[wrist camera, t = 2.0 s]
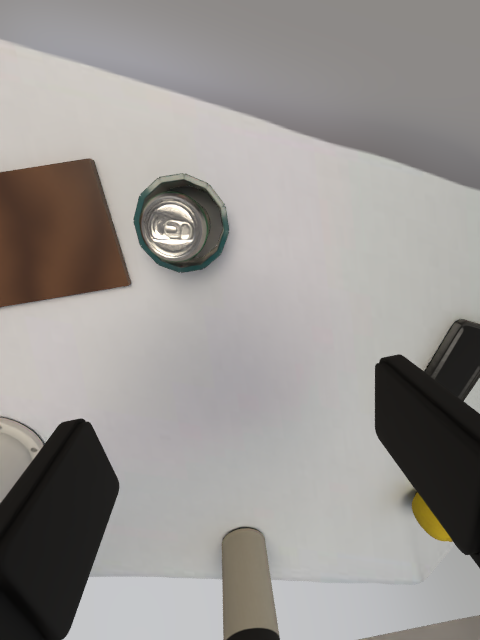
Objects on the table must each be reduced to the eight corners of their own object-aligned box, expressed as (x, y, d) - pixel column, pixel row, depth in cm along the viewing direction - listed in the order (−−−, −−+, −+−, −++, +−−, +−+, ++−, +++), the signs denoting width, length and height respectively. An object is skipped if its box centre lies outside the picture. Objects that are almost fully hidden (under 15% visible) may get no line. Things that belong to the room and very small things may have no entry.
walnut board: (-39, 312, 32) (-46, 314, 31) (-106, 191, 28) (-117, 190, 27) (131, 283, 33) (129, 285, 32) (93, 159, 28) (89, 158, 27)
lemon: (437, 485, 50) (476, 532, 43) (420, 505, 52) (455, 554, 44) (413, 479, 49) (448, 526, 42) (396, 500, 51) (427, 549, 43)
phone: (409, 409, 42) (464, 320, 37) (404, 404, 43) (457, 317, 38) (452, 419, 43) (510, 334, 38) (446, 414, 44) (502, 331, 39)
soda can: (166, 195, 30) (137, 183, 19) (213, 204, 30) (212, 198, 19) (162, 243, 31) (133, 258, 20) (207, 250, 32) (202, 269, 21)
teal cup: (159, 268, 32) (149, 278, 27) (138, 188, 29) (122, 182, 24) (231, 256, 33) (234, 263, 27) (218, 175, 29) (219, 167, 24)
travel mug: (221, 528, 49) (223, 688, 33) (264, 524, 50) (289, 679, 33) (222, 556, 52) (225, 717, 36) (264, 552, 53) (286, 708, 36)
